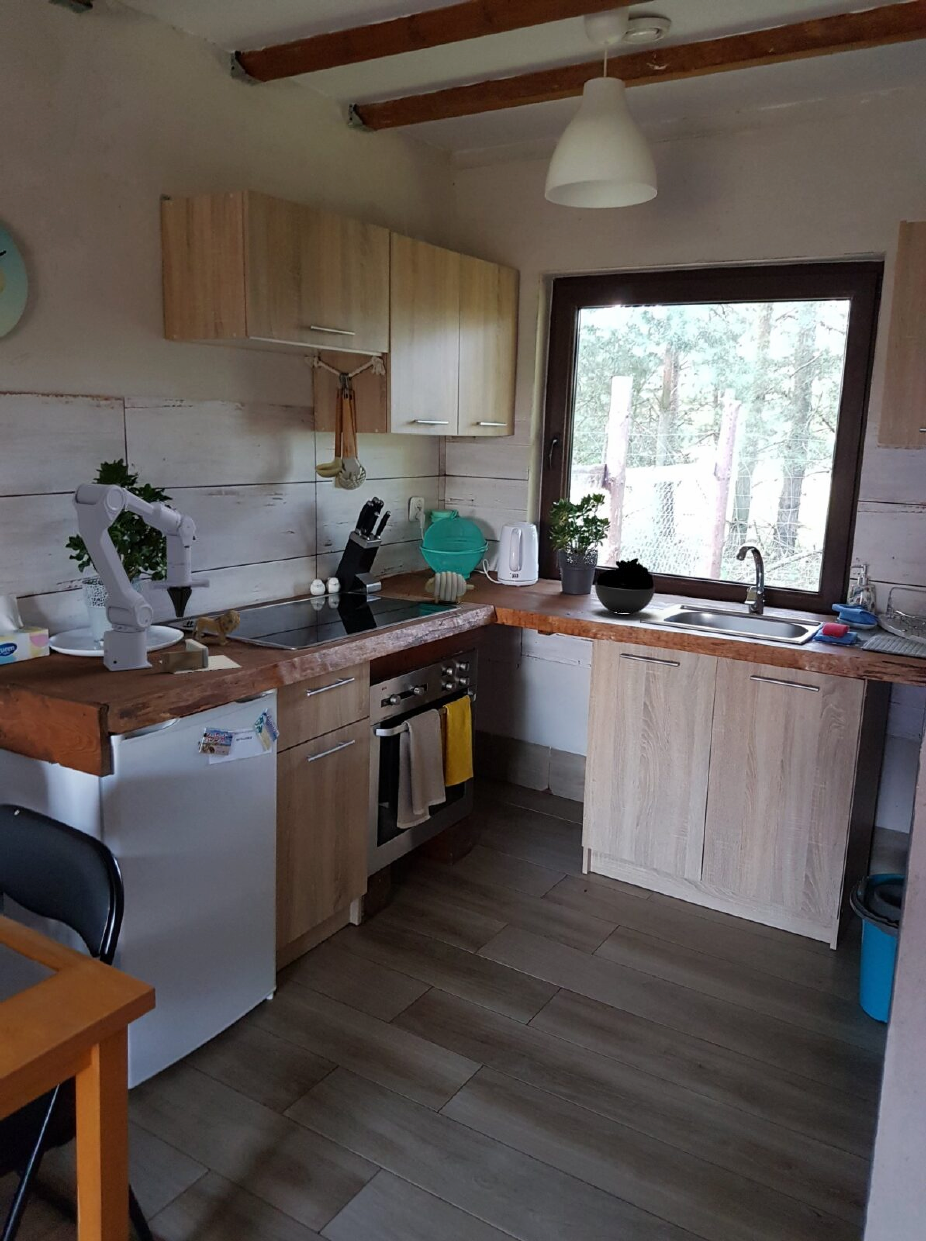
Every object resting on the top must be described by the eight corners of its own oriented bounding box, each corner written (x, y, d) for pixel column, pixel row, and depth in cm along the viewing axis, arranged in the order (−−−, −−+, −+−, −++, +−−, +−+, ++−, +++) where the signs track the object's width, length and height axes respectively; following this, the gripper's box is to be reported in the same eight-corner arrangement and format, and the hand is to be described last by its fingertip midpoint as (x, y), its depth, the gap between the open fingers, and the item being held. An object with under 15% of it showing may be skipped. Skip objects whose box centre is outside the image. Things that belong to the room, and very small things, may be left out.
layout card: (174, 674, 218) (174, 673, 218) (159, 661, 229) (159, 660, 229) (241, 667, 227) (241, 666, 227) (223, 655, 237) (223, 655, 237)
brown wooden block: (165, 673, 217) (164, 654, 217) (160, 669, 220) (160, 651, 220) (203, 669, 222) (203, 651, 221) (198, 666, 225) (198, 648, 224)
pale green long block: (209, 666, 224) (209, 648, 223) (203, 667, 223) (203, 649, 222) (191, 656, 233) (191, 639, 232) (185, 656, 232) (185, 639, 231)
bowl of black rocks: (617, 621, 306) (621, 564, 302) (581, 610, 323) (585, 555, 320) (665, 618, 316) (670, 562, 312) (627, 607, 333) (632, 554, 329)
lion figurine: (243, 642, 253) (243, 609, 252) (236, 646, 248) (236, 613, 246) (190, 638, 255) (189, 606, 253) (182, 643, 249) (182, 609, 248)
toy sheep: (422, 599, 330) (424, 568, 328) (470, 600, 332) (472, 569, 330) (425, 605, 320) (427, 573, 318) (475, 606, 322) (476, 574, 320)
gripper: (203, 559, 240) (204, 612, 243) (145, 561, 233) (146, 615, 236) (211, 563, 234) (212, 617, 237) (151, 565, 227) (152, 620, 230)
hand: (179, 616), depth 236 cm, fingers closed
